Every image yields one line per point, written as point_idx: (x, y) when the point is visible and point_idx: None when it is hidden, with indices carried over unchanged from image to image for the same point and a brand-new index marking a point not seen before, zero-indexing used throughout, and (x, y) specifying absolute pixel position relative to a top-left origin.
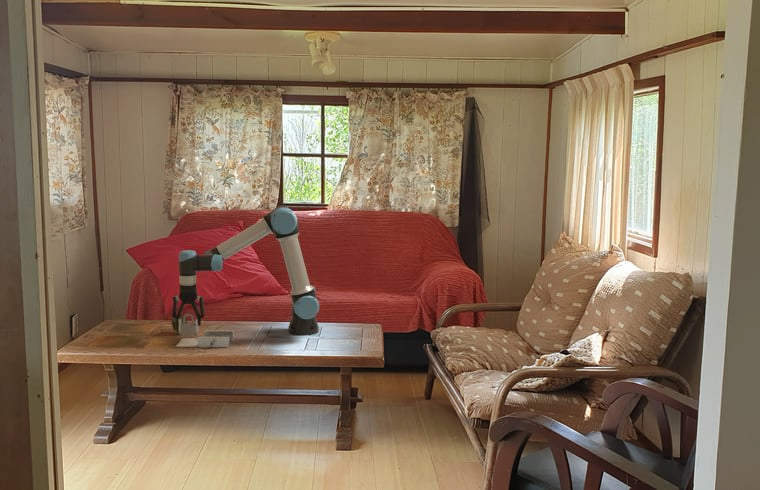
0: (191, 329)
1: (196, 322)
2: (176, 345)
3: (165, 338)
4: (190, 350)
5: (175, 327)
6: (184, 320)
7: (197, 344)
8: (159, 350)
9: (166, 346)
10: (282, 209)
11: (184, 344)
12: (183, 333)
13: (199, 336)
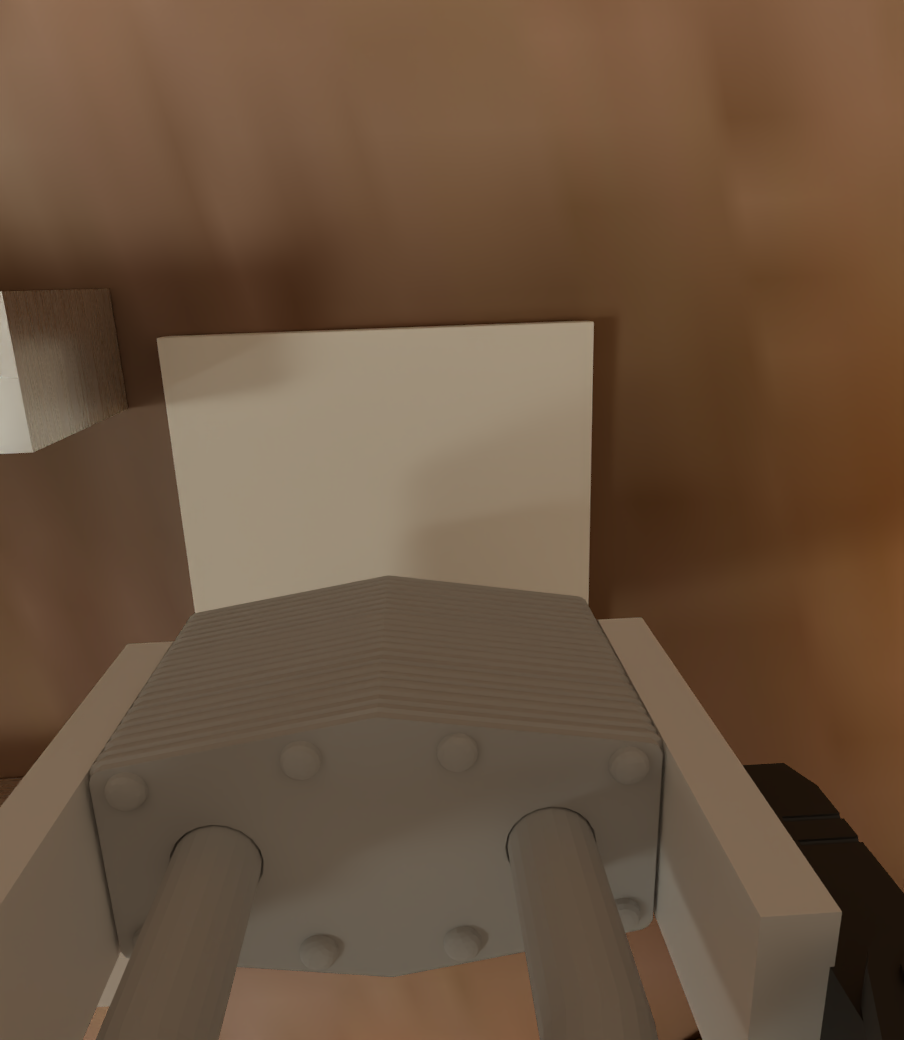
0: (269, 664)
1: (3, 860)
2: (589, 323)
3: (893, 836)
4: (189, 29)
5: None
6: (556, 940)
7: (179, 468)
8: (893, 5)
9: (793, 337)
10: None
11: (437, 406)
12: (513, 607)
13: (12, 446)
